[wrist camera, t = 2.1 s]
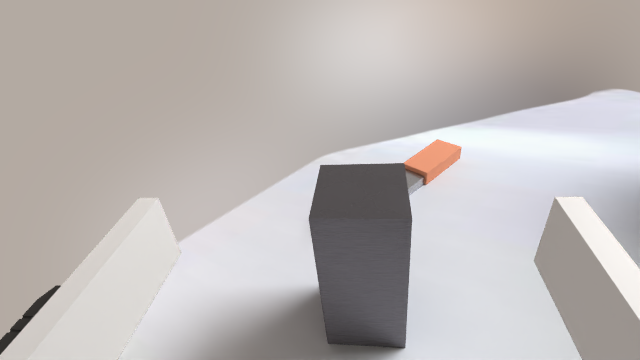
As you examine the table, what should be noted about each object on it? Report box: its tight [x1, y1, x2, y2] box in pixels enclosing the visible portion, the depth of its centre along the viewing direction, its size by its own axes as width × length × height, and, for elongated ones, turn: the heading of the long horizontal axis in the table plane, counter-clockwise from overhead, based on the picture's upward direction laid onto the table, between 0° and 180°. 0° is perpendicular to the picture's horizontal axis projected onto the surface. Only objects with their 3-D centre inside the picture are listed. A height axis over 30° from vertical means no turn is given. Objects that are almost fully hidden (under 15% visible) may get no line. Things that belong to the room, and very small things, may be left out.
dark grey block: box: [309, 163, 412, 348], centre depth 27 cm, size 6×6×13 cm
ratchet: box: [404, 139, 461, 195], centre depth 44 cm, size 22×9×4 cm, turn 133°
